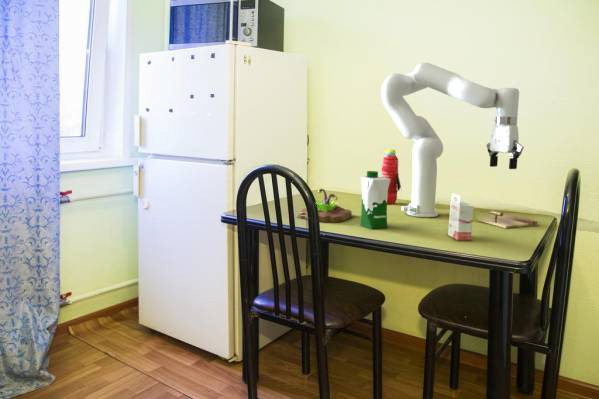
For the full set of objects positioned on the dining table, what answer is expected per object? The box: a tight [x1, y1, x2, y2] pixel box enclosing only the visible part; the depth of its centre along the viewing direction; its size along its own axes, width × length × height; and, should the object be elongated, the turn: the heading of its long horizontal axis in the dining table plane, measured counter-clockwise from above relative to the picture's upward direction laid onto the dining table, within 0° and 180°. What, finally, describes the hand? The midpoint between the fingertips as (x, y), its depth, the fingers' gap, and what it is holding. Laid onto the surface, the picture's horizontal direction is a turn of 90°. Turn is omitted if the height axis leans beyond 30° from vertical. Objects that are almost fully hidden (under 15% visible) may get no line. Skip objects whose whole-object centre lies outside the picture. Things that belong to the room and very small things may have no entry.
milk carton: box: [360, 170, 390, 230], centre depth 182 cm, size 9×9×20 cm
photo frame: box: [477, 209, 530, 229], centre depth 192 cm, size 12×14×5 cm
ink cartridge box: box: [447, 192, 474, 241], centre depth 167 cm, size 9×5×15 cm, turn 5°
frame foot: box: [502, 213, 539, 227], centre depth 195 cm, size 2×15×2 cm, turn 24°
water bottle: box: [381, 148, 402, 205], centre depth 229 cm, size 12×8×25 cm, turn 36°
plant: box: [297, 188, 353, 223], centre depth 199 cm, size 20×20×11 cm
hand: (502, 167), depth 190 cm, fingers open, 9 cm apart
